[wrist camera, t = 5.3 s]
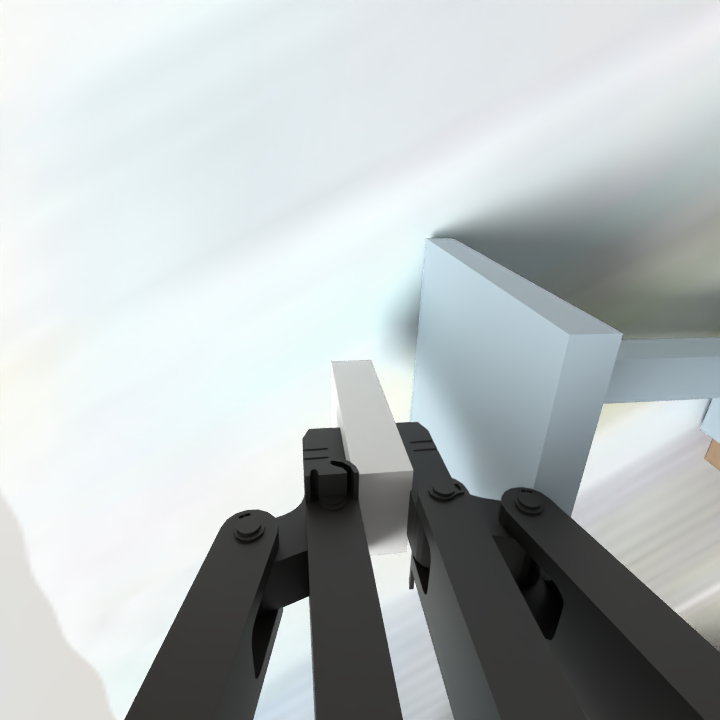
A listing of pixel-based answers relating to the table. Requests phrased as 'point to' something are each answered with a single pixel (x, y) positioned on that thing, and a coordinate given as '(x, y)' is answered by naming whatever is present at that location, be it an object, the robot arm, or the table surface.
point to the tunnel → (714, 454)
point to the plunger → (532, 376)
